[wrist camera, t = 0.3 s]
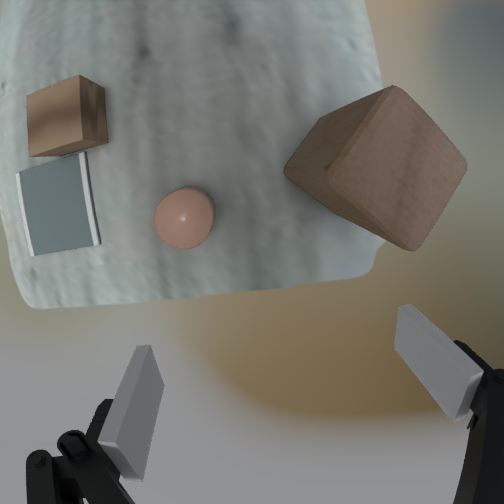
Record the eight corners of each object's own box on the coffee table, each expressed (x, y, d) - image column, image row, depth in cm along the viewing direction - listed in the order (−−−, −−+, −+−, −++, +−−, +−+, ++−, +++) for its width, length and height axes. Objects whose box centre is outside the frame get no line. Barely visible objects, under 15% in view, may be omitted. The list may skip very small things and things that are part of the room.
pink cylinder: (163, 190, 39) (149, 195, 32) (211, 183, 39) (207, 187, 32) (170, 238, 41) (159, 252, 34) (218, 231, 41) (215, 245, 34)
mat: (18, 173, 36) (15, 173, 35) (86, 152, 36) (83, 152, 35) (33, 255, 39) (30, 256, 39) (101, 243, 40) (98, 245, 39)
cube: (56, 104, 34) (26, 95, 26) (104, 88, 34) (79, 74, 27) (60, 156, 36) (29, 156, 28) (108, 142, 36) (82, 139, 29)
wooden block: (279, 172, 39) (325, 180, 20) (322, 113, 37) (397, 77, 18) (337, 216, 41) (417, 259, 22) (377, 159, 39) (474, 164, 20)
